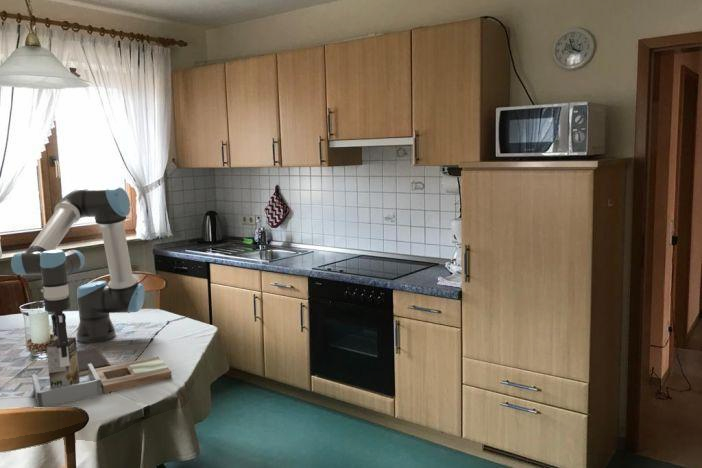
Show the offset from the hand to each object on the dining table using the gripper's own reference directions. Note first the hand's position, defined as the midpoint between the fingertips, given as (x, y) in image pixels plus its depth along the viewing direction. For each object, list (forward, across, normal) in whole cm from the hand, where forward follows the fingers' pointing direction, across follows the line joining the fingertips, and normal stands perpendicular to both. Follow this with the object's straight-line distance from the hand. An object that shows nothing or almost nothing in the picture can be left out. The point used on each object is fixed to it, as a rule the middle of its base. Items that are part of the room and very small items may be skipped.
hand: (62, 360), depth 204 cm
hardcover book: (+10, -21, +8) cm, 25 cm away
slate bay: (+10, +4, 0) cm, 10 cm away
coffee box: (+10, 0, 0) cm, 10 cm away
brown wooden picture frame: (+10, +3, +21) cm, 23 cm away
